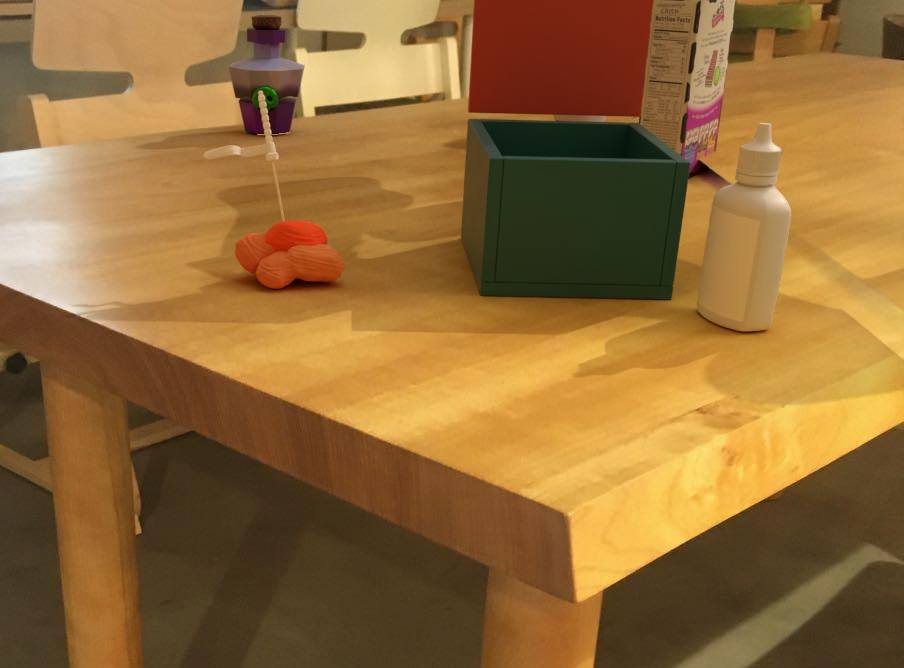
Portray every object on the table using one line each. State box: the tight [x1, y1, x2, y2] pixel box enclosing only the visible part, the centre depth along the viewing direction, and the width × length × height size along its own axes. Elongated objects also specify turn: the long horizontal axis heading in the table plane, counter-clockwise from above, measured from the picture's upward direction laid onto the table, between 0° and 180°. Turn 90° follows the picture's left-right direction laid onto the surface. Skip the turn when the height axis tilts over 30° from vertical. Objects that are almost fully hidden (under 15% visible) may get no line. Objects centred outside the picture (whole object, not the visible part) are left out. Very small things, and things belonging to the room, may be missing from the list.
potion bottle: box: [228, 14, 305, 136], centre depth 135 cm, size 9×9×12 cm
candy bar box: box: [638, 0, 737, 178], centre depth 119 cm, size 11×5×16 cm, turn 148°
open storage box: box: [460, 118, 691, 300], centre depth 88 cm, size 16×13×9 cm
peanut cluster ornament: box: [202, 91, 345, 290], centre depth 82 cm, size 6×10×12 cm, turn 75°
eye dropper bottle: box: [696, 122, 792, 333], centre depth 76 cm, size 4×6×12 cm
